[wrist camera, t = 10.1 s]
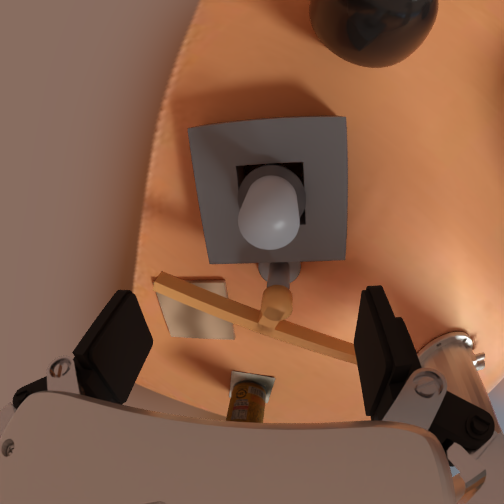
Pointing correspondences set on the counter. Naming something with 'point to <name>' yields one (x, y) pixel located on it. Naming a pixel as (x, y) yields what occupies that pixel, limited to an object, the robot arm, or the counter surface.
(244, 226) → the plug
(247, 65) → the counter surface
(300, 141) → the socket block
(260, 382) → the condiment
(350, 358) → the knobbed wooden stick
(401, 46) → the pump dispenser
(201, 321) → the pad
